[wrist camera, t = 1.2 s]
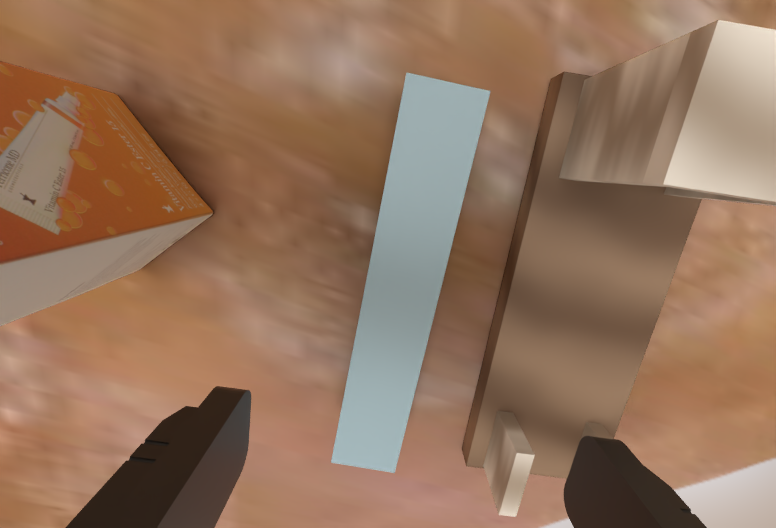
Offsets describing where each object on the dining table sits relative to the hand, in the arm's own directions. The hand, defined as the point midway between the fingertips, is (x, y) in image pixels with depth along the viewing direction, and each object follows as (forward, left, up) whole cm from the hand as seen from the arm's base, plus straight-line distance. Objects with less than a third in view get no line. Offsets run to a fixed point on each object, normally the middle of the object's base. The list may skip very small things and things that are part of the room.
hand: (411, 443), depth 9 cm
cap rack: (0, +11, -14) cm, 18 cm away
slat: (0, 0, -14) cm, 14 cm away
